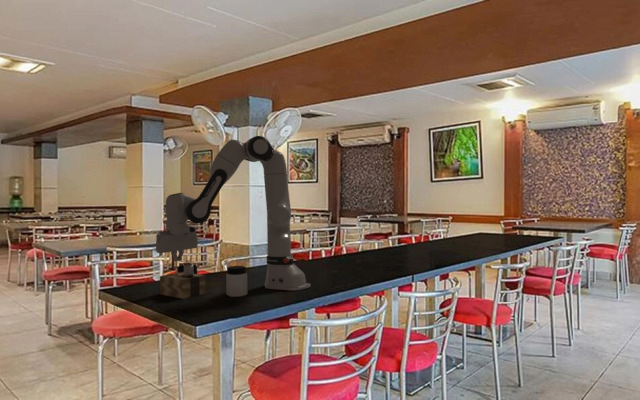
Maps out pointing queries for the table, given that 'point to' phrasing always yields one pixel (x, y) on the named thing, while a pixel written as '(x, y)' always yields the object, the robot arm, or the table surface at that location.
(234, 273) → the jar
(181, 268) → the mug
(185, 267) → the copper domed cylinder
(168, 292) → the oak block
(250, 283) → the table surface
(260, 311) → the table surface
